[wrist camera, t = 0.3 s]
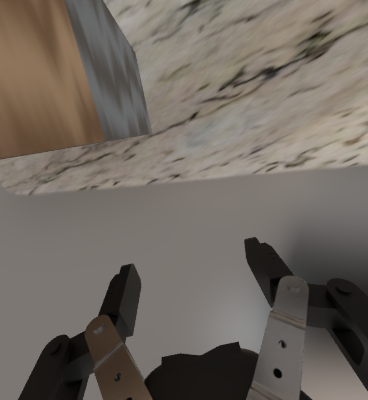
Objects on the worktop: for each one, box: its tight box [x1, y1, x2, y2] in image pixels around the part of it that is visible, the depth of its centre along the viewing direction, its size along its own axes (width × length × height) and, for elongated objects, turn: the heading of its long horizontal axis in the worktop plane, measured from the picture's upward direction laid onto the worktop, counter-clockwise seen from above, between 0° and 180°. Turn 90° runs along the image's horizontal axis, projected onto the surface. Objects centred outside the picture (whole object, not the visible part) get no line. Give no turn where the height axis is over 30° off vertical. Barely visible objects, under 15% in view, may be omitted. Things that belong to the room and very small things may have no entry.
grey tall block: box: [0, 0, 152, 159], centre depth 19 cm, size 13×15×33 cm
